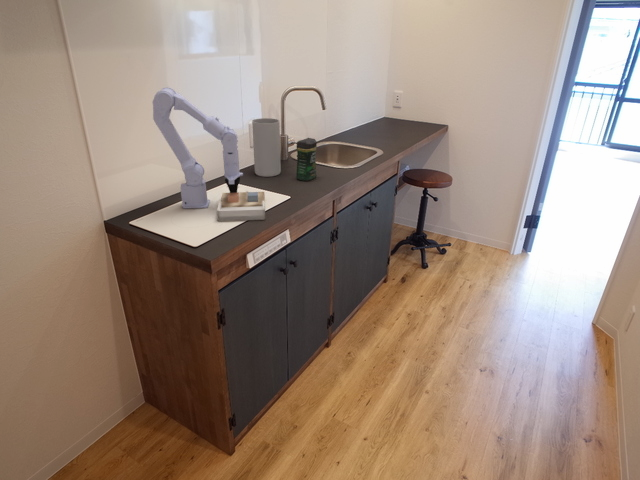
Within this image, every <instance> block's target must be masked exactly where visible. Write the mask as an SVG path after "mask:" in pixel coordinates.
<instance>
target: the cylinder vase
mask: <svg viewBox="0 0 640 480" xmlns="http://www.w3.org/2000/svg"><path fill="white" fill-rule="evenodd" d="M251 120H252V121H251V125H252V127H251V128H252V146H253V163H254V173H255V174H256V176H259V177H264V178H266V177H268V178H269V177H270V178H271V177H276V176H279V175H280V174H281V173H282V170H281V168H282V167H281V164H282V163H281V132H280V131H281V129H280V127H281V125H280V119H277V118H270V117H269V118H268V117H263V118H261V117H260V118H256V119H251Z"/></svg>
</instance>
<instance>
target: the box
mask: <svg viewBox="0 0 640 480" xmlns="http://www.w3.org/2000/svg"><path fill="white" fill-rule="evenodd" d="M265 201H266V200H265ZM265 201H262V204H263V206H254V207H222V204H221V202H220V201H219V202H218V205H217V210H216V213H217V222H230V221H231V222H232V221H233V222H236V221H238V222H239V221H260V220H261V221H262V220H263V221H264V220H266V206H265V205H266V204H265Z"/></svg>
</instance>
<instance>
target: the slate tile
mask: <svg viewBox="0 0 640 480" xmlns="http://www.w3.org/2000/svg"><path fill="white" fill-rule="evenodd" d="M247 192H248V194H247V198H248V202H258V192H259V191H247Z"/></svg>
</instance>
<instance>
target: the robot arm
mask: <svg viewBox="0 0 640 480" xmlns="http://www.w3.org/2000/svg"><path fill="white" fill-rule="evenodd" d="M172 109H173V110H174V111H183V112H185V113H186V114H188V115H189V116H191V117H192V118H193V119H195V120H196V121H198V122H199V123H201V124H202V128H203V130H205V131H206V132H207V133H209V134H210V135H211V136H213V137H214V138H215V139H216V140H219V141H220V143H221V145H222V149H223V150H222V156H223V158H222V159H223V168H224V169H223V170H224V171H223V172H224V178H225V179H224V182H225V184H226V185H227V188H228V190H229V193H237V192H238V188H239V183H240V182H241V177H243V176H244V173H243V172H240V171H241V170H240V160H239V159H240V157H239V149H238V147H239V146H238V142H239V141H238V135H237V132H236V131H235V130H234V129H233V128H230V126H228V125H227V126H226V125H225V124H224V123H222V122H221V121H220V118H219V117H218V116H216V117H215V116H214V115H213V116H210V115H209V116H208V115H207V114H205V113H204V112H203V111H202V110H200V108H198V107H196V105H194V104H193V103H192V102H191V101H190V100H188V99H187V98H186V97H185V96H183V95H182V94H180V93H179V92H176V91H175V90H174V89H173V88H171V87H169V86H168V87H163V88H161V89H160V90H159V91H157V92H156V93H155V95H154V98H153V99H152V110H153V113H152V120H153V121H154V123H155V125H156V126H157V128H158V130H159V131H160V133H161V135H162V136H163V137H164V139H165V141H166V142H167V144H168V146H169V147H170V149H171V150H172V152H173V154H174V155H175V157H176V159H177V160H178V162H179V163H180V165H181V169H182V170H181V171H182V172H183V174H184V180H185V181H186V182H184V183H181V184H180V196H181V202H182V203H181V204H182V209H201V208H202V209H205V208H206V209H207V208H209V206H210V205H209V204H210V201H211V200H210V199H208V192H207V184H206V180H205V179H204V177H203V176H204V174H205V168H204V167H203V165H202V164H200V163H199V162H198V160H197V159H196V158H195V157H193V155H192V154H191V152H190V150H189V149H188V147H187V145H186V144H185V143H184V141H183V139H182V137H181V136H180V134H179V132H178V131H177V129H176V127H175V125H174V124H173V122H172V120H171V119H170V115H171V112H172Z"/></svg>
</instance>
